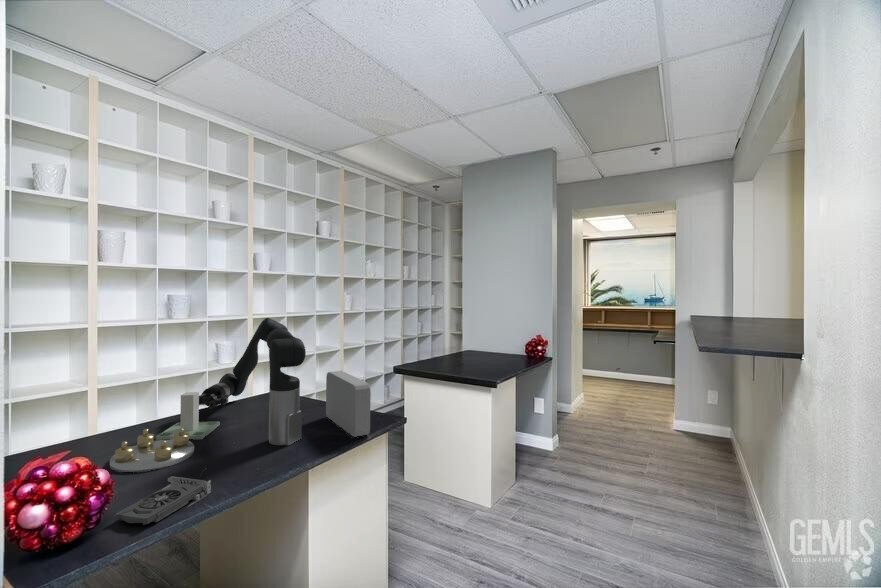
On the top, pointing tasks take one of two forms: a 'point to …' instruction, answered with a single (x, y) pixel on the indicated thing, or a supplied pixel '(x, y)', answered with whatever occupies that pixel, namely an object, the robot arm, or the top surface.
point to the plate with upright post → (189, 420)
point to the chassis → (152, 453)
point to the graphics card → (165, 501)
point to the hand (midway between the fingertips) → (197, 406)
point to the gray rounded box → (348, 402)
